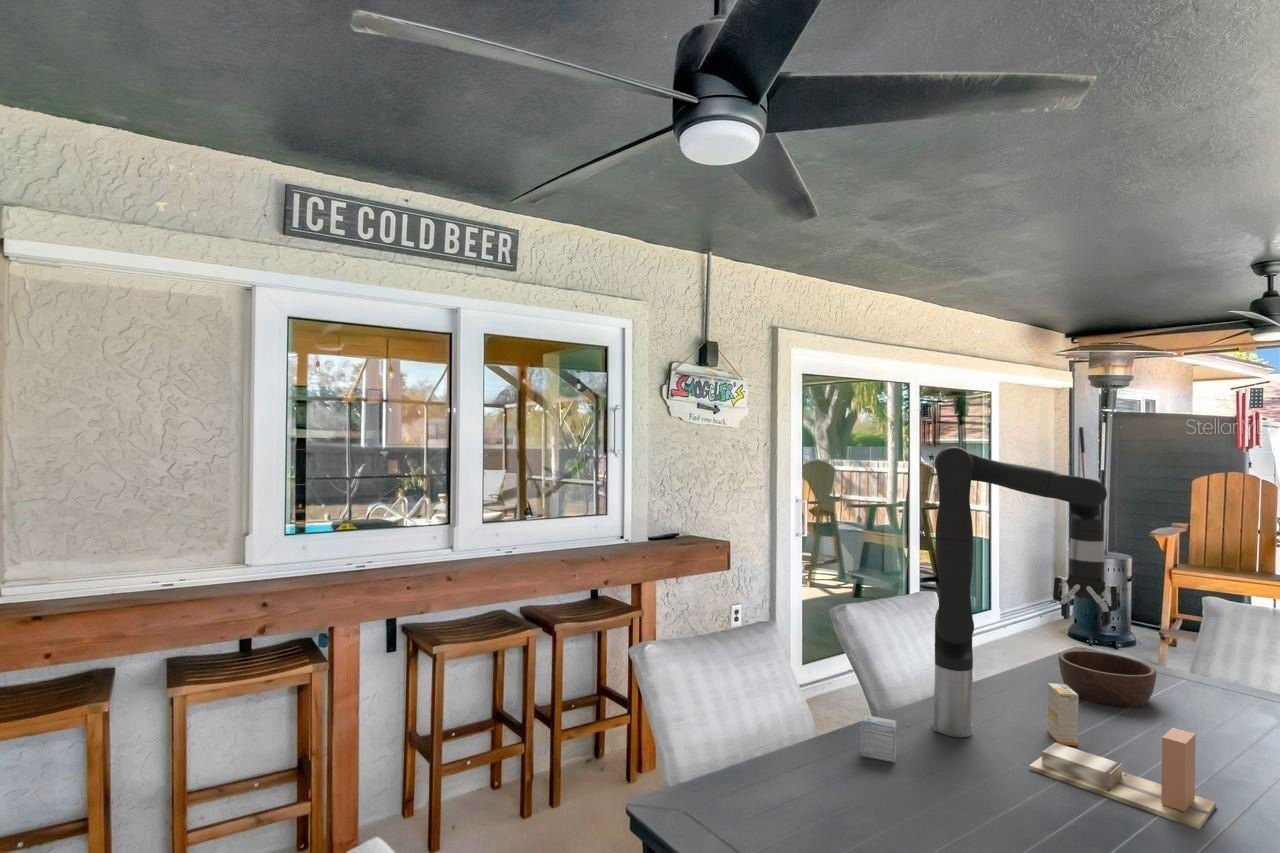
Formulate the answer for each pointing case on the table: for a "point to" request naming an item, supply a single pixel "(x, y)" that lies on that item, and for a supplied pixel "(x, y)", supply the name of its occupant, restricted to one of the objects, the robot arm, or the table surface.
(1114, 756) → the table surface
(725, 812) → the table surface
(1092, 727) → the table surface
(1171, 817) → the wooden base board
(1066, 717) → the supplement box
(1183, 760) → the salmon orange block
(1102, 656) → the wooden bowl
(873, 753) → the medicine box
